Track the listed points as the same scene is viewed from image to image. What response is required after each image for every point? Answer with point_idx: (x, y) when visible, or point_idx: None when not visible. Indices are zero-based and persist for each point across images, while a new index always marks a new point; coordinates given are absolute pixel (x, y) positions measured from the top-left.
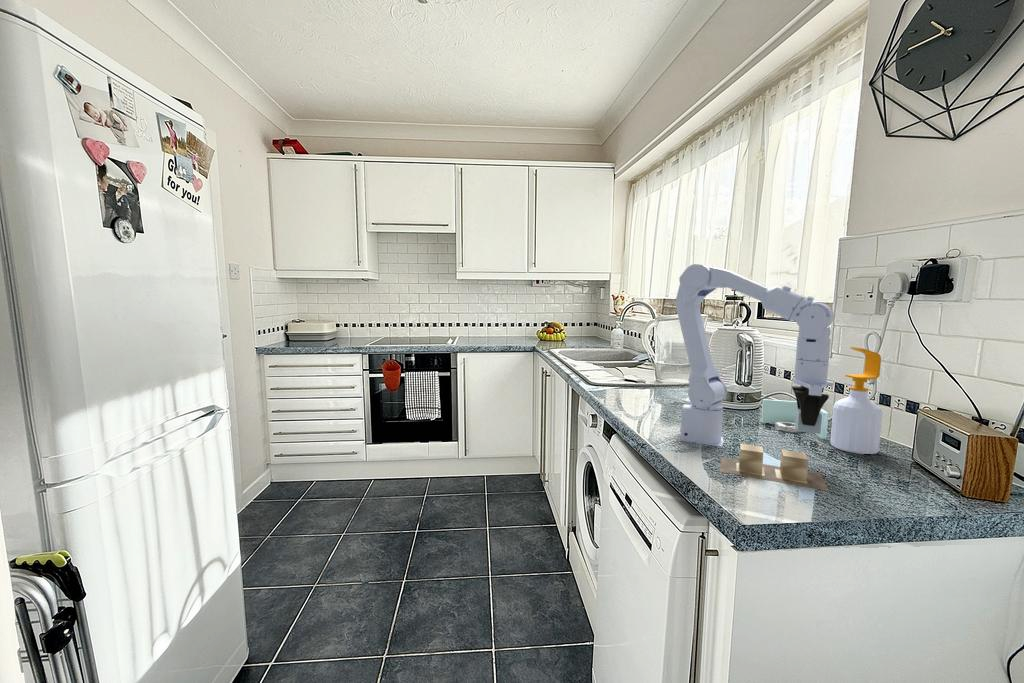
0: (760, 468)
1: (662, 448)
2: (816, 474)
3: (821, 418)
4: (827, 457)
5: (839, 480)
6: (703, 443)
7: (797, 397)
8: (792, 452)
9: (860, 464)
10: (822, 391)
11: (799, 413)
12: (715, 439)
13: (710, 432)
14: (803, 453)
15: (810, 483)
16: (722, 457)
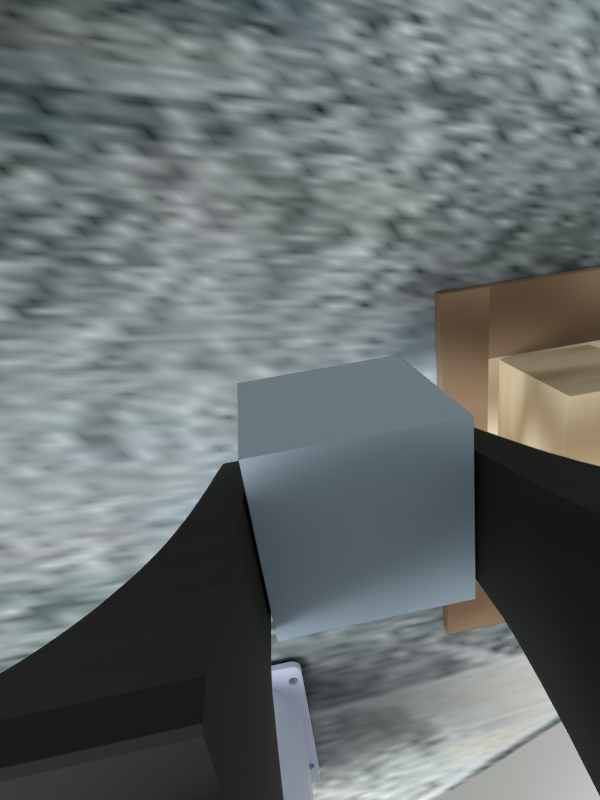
0: None
1: (426, 777)
2: (469, 310)
3: (453, 403)
4: (64, 257)
5: (445, 209)
6: (308, 719)
7: (281, 780)
8: (589, 450)
9: (60, 69)
10: (214, 679)
11: (470, 589)
12: (281, 711)
13: (301, 759)
14: (582, 403)
15: (598, 329)
16: (449, 630)
